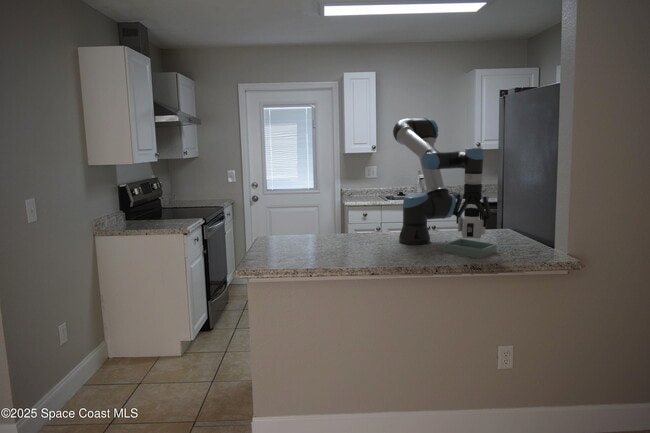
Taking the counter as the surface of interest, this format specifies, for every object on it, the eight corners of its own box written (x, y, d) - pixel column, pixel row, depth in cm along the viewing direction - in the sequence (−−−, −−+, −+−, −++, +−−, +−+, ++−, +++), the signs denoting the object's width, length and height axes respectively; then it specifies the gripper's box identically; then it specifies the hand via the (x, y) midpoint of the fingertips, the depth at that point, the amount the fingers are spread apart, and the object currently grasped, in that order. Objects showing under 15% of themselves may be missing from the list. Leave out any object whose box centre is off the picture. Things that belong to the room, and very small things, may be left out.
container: (480, 238, 219) (482, 209, 216) (462, 238, 220) (463, 209, 218) (479, 235, 226) (480, 206, 224) (461, 234, 228) (462, 206, 225)
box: (443, 251, 225) (444, 244, 225) (459, 245, 236) (460, 238, 235) (481, 258, 213) (481, 250, 213) (496, 251, 224) (496, 244, 223)
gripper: (445, 182, 224) (444, 230, 228) (494, 185, 209) (492, 237, 212) (453, 180, 229) (452, 228, 233) (502, 184, 214) (499, 234, 218)
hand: (471, 232), depth 223 cm, fingers closed on container, 10 cm apart
